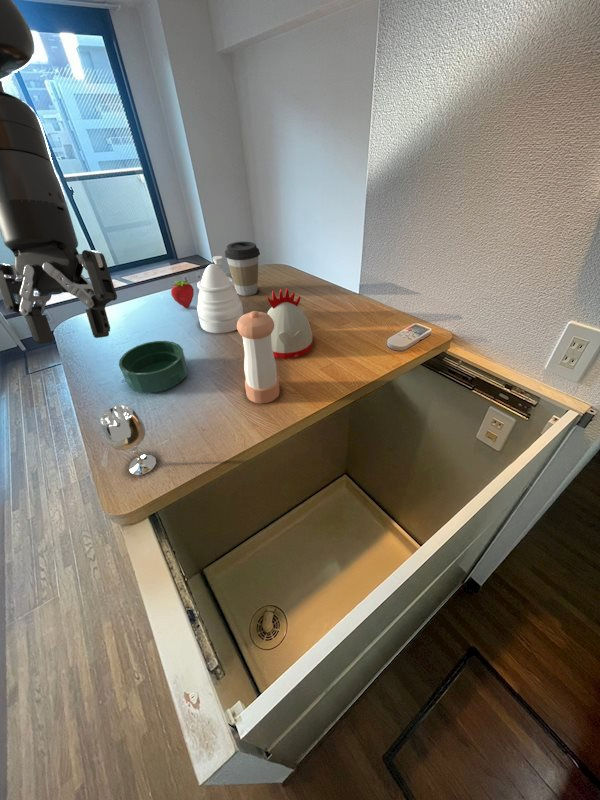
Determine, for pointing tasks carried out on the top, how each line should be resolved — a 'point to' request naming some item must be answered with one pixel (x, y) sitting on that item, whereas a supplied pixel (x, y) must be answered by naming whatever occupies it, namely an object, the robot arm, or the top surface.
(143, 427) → the wineglass
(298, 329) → the kitchen timer
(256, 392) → the salt shaker
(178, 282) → the strawberry
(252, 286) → the coffee cup
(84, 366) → the top surface
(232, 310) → the honey pot
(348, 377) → the top surface
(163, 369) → the green bowl
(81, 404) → the top surface
